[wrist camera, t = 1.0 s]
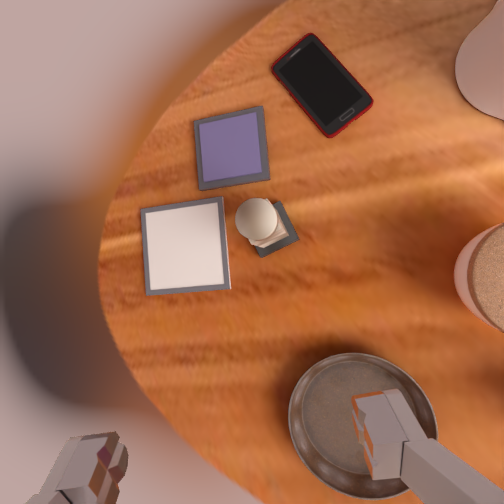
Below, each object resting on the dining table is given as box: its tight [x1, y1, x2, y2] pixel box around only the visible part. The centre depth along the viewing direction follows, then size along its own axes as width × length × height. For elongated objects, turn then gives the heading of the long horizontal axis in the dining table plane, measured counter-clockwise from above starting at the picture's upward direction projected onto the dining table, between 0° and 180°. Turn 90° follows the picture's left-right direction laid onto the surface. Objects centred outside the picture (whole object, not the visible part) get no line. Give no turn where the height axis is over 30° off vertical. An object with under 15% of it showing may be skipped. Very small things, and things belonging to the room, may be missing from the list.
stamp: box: [235, 198, 300, 258], centre depth 38 cm, size 6×6×11 cm
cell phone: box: [271, 33, 373, 138], centre depth 42 cm, size 8×15×1 cm, turn 36°
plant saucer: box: [288, 353, 438, 500], centre depth 38 cm, size 18×18×3 cm
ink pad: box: [194, 106, 270, 191], centre depth 44 cm, size 11×11×1 cm
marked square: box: [141, 196, 231, 296], centre depth 46 cm, size 14×14×1 cm
